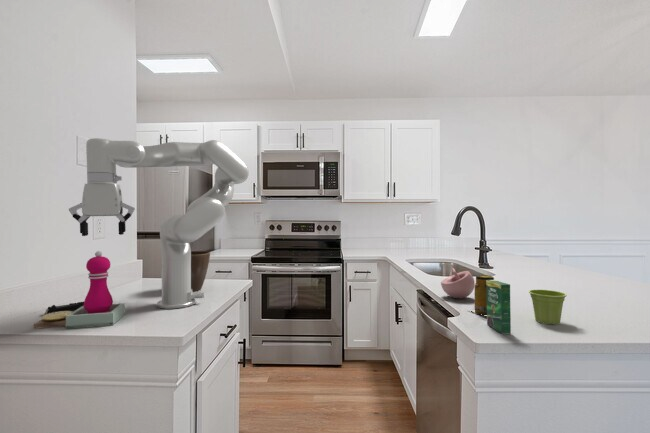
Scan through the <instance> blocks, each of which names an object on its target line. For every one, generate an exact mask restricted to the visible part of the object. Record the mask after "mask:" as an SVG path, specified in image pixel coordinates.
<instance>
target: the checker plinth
mask: <svg viewBox="0 0 650 433" xmlns="http://www.w3.org/2000/svg"><path fill="white" fill-rule="evenodd" d="M54 327H66V319H63V320H56V321H44V320H42V319H41V320H39V321H37V322H35V323H34V324H33V329H41V328H42V329H43V328H54Z"/></svg>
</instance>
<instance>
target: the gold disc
mask: <svg viewBox="0 0 650 433" xmlns="http://www.w3.org/2000/svg"><path fill="white" fill-rule="evenodd" d="M72 312H73V311H59V312H53V313H49V314H45V313H44V315H42V316H41V320H44V321H56V320H63V319H66V316H67V315H69V314H70V313H72Z"/></svg>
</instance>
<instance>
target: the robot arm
mask: <svg viewBox="0 0 650 433" xmlns="http://www.w3.org/2000/svg"><path fill="white" fill-rule="evenodd" d="M85 145H86V146H85V149H86V150H85V151H86V152H85V154H86V178H87V179H86V180H87V181H86V183H84V186H83V191H82V199H81V200H82V201H81V202H80V203H78V204H76V205H74V206H72V207H69V208H68V211H69V213H70V214H71V216H72V218H74V219H75V220H76V221H77V222H78V223H79V233H80V234H81V236H82V237H86V236H88V235H89V222H87V221H88V219H89V218H90V217H116V218H117V219H118V220H119V221H118V223H117V224H118V235H120V236H121V235H124V234H125V232H126V231H127V230H126V222H127V220H129V219H130V218H131V217H132V215H133V214H134V212H135V210H136V209H135V207H134V206H132V205H129V204H127V203H124V202H123V196H122V195H123V194H122V189H121V185H120V184H118V182H121V181H122V180H123V179H122V176H120V175H117V166H118V167H120V168H126V169H128V168H133V169H134V168H167V167H169V168H170V167H206V166H212V165H215V167H217V168H216V170H215V173H214V185H213V187H212V188H211V189H209V190H208V191H207V192H205V193H204V194H202V195H201V196H200V197H198V198H196V199H195V200H194V201H192V202H190V204H189V205H188V207H187V209H186V213H185V214H177V215H176V214H175V215H171V216H170V215H169V216H168V217H166V218H165V219H164V220H163V221H162V222H161V225H160V227H159V237H160V244H161V246H160V247H161V299H160V300H159V301H157V302H156V307H157V308H159V309H165V310H166V309H167V310H169V309H170V310H171V309H180V308H186V307H187V308H188V307H190V306H193V305H195V304H196V299H204V298H205V292H201V291H197V292H192V289H191V251H192V249H191V243H193V242H195V241H198V240H199V239H200V238H202V236H204V235H205V234H206V233H208V232H209V231H210V230H212V229H213V228H214V227H215V226H217V225H218V224H219V223H220V222H221V221H222V219H223V217H224V216H225V207H227V205H228V204H230V203H231V201H232V200H233V197H234V191H235V187H234V186H235V185H238V184H239V185H240V184H242V183H244V182H246V181H247V179H248V178H249V175H250V174H249V169H248V167H247V165H246V164H245V162H244V161H243V160H242V159H241V158H240V157H238V156H237V155H236V154H235V153H234V152H233V151H232V150H231V149H229V147H227V146H226V145H225V144H223V143H222V142H221V141H219V140H217V139H216V140H215V139H211V140H208V141H205V142H183V141H182V142H180V141H169V142H165V143H160V144H154V145H145V146H144V145H142V144H140V143H139V142H137V141H134V140H112V139H111V140H110V139H109V138H108V139H107V138H100V137H99V138H97V137H94V138H93V137H92V138H89V139H88V140H87V141H86V143H85ZM124 209H125V210H127V212H126V214H123V213H124ZM78 210H81V212H82V215H80V214H79V213H78Z"/></svg>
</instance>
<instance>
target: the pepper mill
mask: <svg viewBox="0 0 650 433" xmlns="http://www.w3.org/2000/svg"><path fill="white" fill-rule="evenodd" d="M94 255H95V256H93V257H91V258H89V259H88V260H87V262H86V270H87V271H88V272H89V273H88V277H87V278H88V279H89V289H88V292H87V294H86V296H85V299H84V301H83V302H84V308H85V310H87V311H88V313H86V314H94V313H108V312H111V311H110V310H109V308H110V307H111V306H112V304H114V303H113V296H112V294H111V292H110V290H109V288H108V282H107V280H108V277H109V271H108V270H109V269H110V268H111V261H110V259H109V258H108V257H106V256H103V253H102V251H100V250H98V251H96V252H94Z"/></svg>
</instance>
